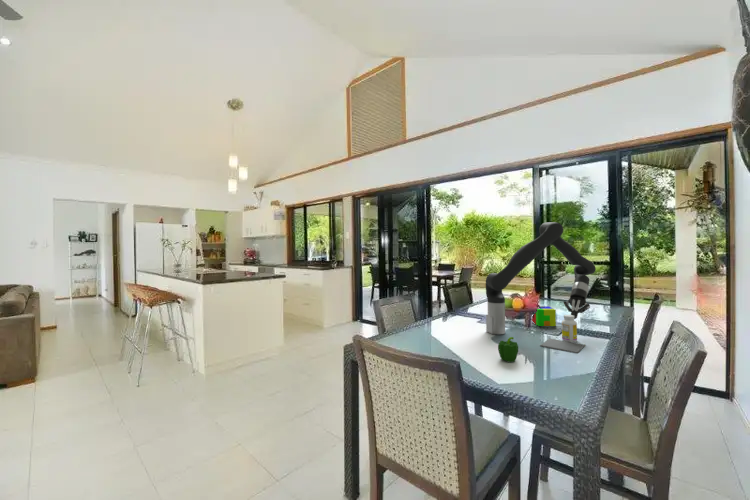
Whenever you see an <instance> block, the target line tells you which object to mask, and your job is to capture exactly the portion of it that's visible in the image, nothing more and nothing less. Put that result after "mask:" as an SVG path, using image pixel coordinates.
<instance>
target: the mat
mask: <svg viewBox="0 0 750 500" xmlns="http://www.w3.org/2000/svg"><path fill="white" fill-rule="evenodd" d="M539 346H540V347H541V348H548V349H553V350H557V351H564V352H567V353H573V354H579V353H580V352H581V351H582V350H583V349H584V348H585V347H586V344H583V343H579V342H578V343H577V342H567V341H564V340H562V339H556V338H555V339H554V338H548V339H547V340H545V341H544V342H542V343H541V344H540V345H539Z"/></svg>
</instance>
